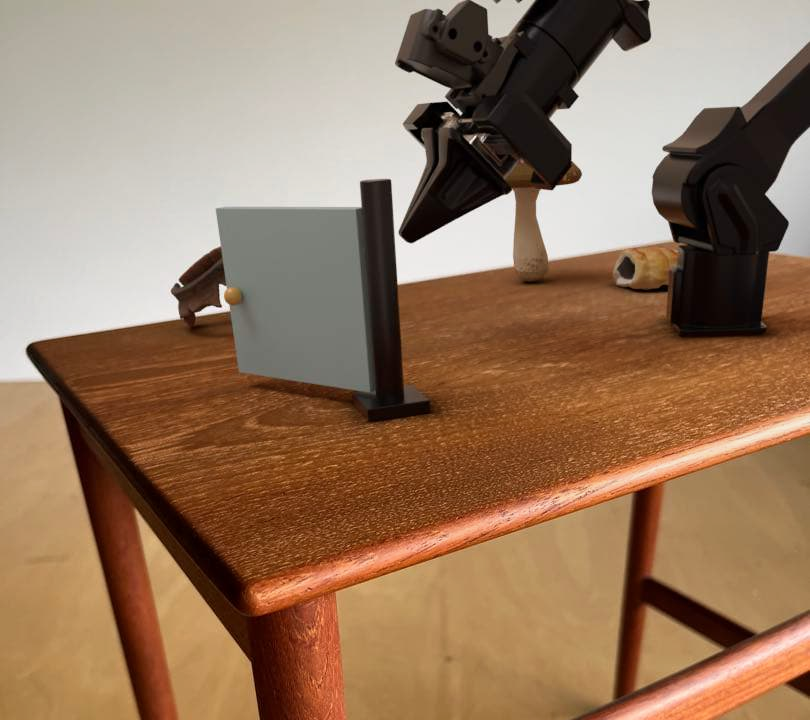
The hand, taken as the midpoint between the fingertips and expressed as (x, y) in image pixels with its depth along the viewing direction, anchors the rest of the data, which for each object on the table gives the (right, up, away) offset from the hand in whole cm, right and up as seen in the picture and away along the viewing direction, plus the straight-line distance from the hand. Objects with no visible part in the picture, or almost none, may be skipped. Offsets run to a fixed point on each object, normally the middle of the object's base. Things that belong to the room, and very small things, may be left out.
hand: (404, 238), depth 63 cm
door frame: (-1, -13, -7) cm, 15 cm away
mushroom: (+13, +6, +32) cm, 35 cm away
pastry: (+26, +4, +26) cm, 37 cm away
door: (-7, -11, -4) cm, 13 cm away
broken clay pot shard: (-16, -1, +21) cm, 26 cm away
